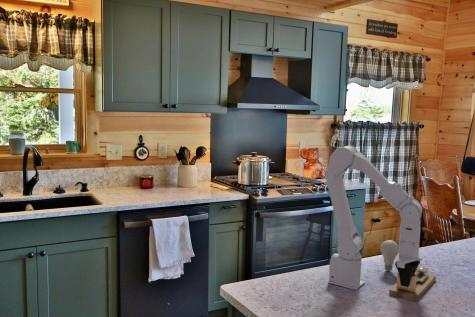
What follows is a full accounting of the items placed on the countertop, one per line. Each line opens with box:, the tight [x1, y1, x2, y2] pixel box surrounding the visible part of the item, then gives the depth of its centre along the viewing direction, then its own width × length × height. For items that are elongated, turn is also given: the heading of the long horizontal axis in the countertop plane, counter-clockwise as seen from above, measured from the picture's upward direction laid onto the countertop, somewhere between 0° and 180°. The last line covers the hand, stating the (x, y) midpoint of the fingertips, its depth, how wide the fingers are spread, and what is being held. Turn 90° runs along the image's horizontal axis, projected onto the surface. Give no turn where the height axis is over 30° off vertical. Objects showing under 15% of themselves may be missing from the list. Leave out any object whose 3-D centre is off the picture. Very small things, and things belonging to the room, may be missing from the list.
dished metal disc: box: [416, 265, 429, 276], centre depth 149 cm, size 4×4×2 cm
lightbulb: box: [379, 239, 399, 272], centre depth 155 cm, size 6×6×11 cm
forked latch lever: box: [396, 272, 427, 292], centre depth 140 cm, size 5×16×5 cm, turn 143°
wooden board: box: [388, 271, 437, 303], centre depth 142 cm, size 8×22×2 cm, turn 143°
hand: (406, 284), depth 135 cm, fingers closed on forked latch lever, 2 cm apart
